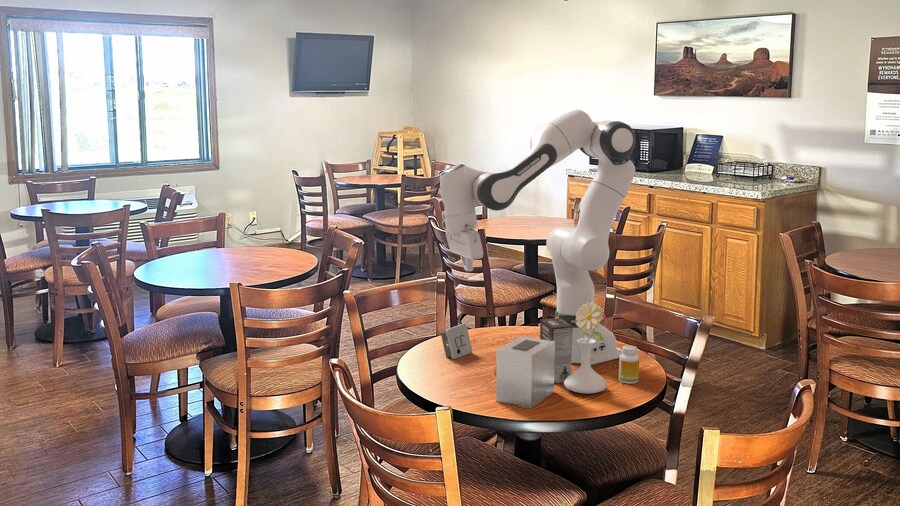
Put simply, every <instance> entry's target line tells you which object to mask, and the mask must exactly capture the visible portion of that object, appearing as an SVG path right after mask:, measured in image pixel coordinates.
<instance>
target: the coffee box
mask: <svg viewBox="0 0 900 506" xmlns="http://www.w3.org/2000/svg"><path fill="white" fill-rule="evenodd" d="M539 327H540V328H539V329H540V330H539V331H540V332H539V339H542V340H548V341H555V362H554V384H557V383H564V381H565V379H566V378H567V377H568V376H569V375H571V374H572V363H571V362H572V331H573V326H572V325H570V324H569V323H567V322H566V321H564V320H563V319H562V318H555V317H554V318H553V317H552V318H543V319H540V325H539Z"/></svg>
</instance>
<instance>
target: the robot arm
mask: <svg viewBox="0 0 900 506" xmlns="http://www.w3.org/2000/svg"><path fill="white" fill-rule="evenodd" d="M635 145H636V134H635V130H634V129H633V128H632V127H631V126H630V125H629V124H628V123H625V122H623V121H617V120H616V121H615V120H601V121H593V119H592V118H591V116H590V115H589V114H588V113H586V112H585V111H583V110H582V109H573V110H571V111H568V112H566V113H564V114H562V115H560V116H558V117H556V118H554V119H553V120H551V121H550V122H548V123H547V124H545V125H544V126H543V127H541V128H540V129H539V130H538V131H537V132H536V133H535V134H533V135H532V137H531V138H530V142H529V149H530V150H529V153H528V154H527V155H526V156H524V157H523V158H521V160H519V161H518V162H517V163H516V164H514V165H513V166H511V167H510V168H509V169H508V170H505V171H501V172H496V173H494V172H488V171H484V170H483V171H482V170H478V169H474V168H472V167H469V166H467V165H466V164H461V163H460V164H456V165H453V166H450V167H448V168H446V169H444V170H443V171H442V172H441V174H440V177H439V186H440V187H439V189H440V196H441V202H442V203H443V207H444V212H443V213H444V220H442V222H441V223H442V228H443V229H444V230H445V237H446V241H447V246H448V248H449V251H450V252H451V253H454V254H456V255H458V256H460V260H461V262H462V264H463V270H465V272H473V271H474V265H473V263H474V260H479V259H482V258H483V257H484V250H483V243H482V241H481V240H482V239H481V236H480V233H479V232H478V231H477V230H475V229H476V228H478V219H477V213H476V207H479V206H481V207H485V208H487V209H489V210H491V211H502V210H505V209H507V208H509V206H511V205H512V204H513V202H514V201H515V199H516V198H517V196H518V194H519V193H520V192H521V190H523V189H524V188H525V187H526V186H527V185H529V184H530V183H531V182H532V181H533V180H535V179H536V178H538V177H539V176H541V174H543V173H544V172H545V171H547V170H548V169H549V168H551V167H553V166H555V165H556V164H558V163H560V162H562V161H563V160H564V159H566V158H568V157H569V156H570V155H572V154H573V153H575V152H576V151H577V150H580V151H581V152H582V153H583V154H584V155H586V156H587V157H590V158H594V159H598V164H597V165H598V167H597V170H596V173H595V175H594V176H593V177H592V180H591V181H590V183H589V185H588V187H587V188H586V191H585V193H584V195H583V197H582V198H581V199H580V201H579V203H578V204H579V205H578V209H579V215H578V222H577V225H576V227H573V226H569V225H568V226H559V227H555V228H554V229H552V230H551V231H550V233H549V234H548V235H547V238H546V243H545V244H546V245H545V246H546V249H547V251H548V252H549V255H550V257H551V262H552V266H553V271H554V276H555V282H556V310H554V318H562V319H563V320H564V321H566V322H567V323H569V324H570V325H572V326H573V331H572V362H571V364H580V365H581V363H582V353H581V348H580V345H579V343H578V342H577V340H578V339H580V338H589V336H591V334H592V332H593V330H591V329H589V330H588V331H586V332H587V333H588V334H589V336H587V335H585V334H584V333H582V332H581V331H580V329H579V326H577V325H576V322H577V321H576V318H577V317H576V315H577V314H576V313H577V312H579V308H582V305H583V304H585V305H586V304H587V303H590V304H591V303H593V302H594V303H595V284H594V282H593V280H592V278H591V276H590V273H589V271H596V270H600V269H602V268H603V267H604V266H606V264H607V262H608V260H609V258H610V246H609V237H610V232H611V228H612V225H613V223H614V220H615V218H616V216H617V213H618V212H619V210H620V208H621V206H622V204H623V202H624V200H625V199H626V197H627V194H628V192H629V190H630V188H631V187H632V183H633V181H634V177H635V174H636V166H635V164H634V162H633V161H632V160H631V159H632V158H633V156H634V149H635V148H636V147H635ZM602 313H603V312H602ZM602 317H603V319H602V320H601V321H604V320H605V319H606V317H607V316H606V314H605V313H603V315H602ZM596 331H600V333H601V335H602V338H603V340H601V341H596V342H595V344H594V345H593V347H592V350H591V355H590V366H593V365H597V364H600V363H604V362H605V363H606V362H608V361H612V360H616V359H619V358H620V355H621V354H622V353H623V352H622V348H620V347H618V345H617V338H616V336H615V335H614V333H613V332H612V331H610V330H609V329H608V328H606V327H605V326H604V325H602V323H600V324H597V327H596V328H595V331H594V332H596ZM590 339H594V337H593V335H592V337H591V338H590Z"/></svg>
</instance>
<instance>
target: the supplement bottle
mask: <svg viewBox="0 0 900 506" xmlns="http://www.w3.org/2000/svg"><path fill="white" fill-rule="evenodd" d="M621 350H622V352H623V353H622V354H621V355H620V358H618V359H619V360H618V361H619V363H618V365H619V366H618V368H619V369H618V381H619V382H621V383H623V384H626V385H627V384H628V385H631V384H632V385H633V384H637V383H638V382H639V377H640V375H639V374H640V356H639V354H637V353H638V347H637V346H636V345H635V346H634V345H630V344H628V345H623V346H622V348H621Z"/></svg>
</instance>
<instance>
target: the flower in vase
mask: <svg viewBox="0 0 900 506" xmlns="http://www.w3.org/2000/svg"><path fill="white" fill-rule="evenodd" d="M576 314H577V315H576V317H577V318H576V321H577V322H576V325H577V326H579V329H580V331H581V332H582V333H584V334H585V335H587V336H589V334H588V333H587V332H586V331H588V330H589V329H591V330H593V332H592V334H591V336H589V338H580V339H578V340H577V342H578V343H579V345H580V348H581V353H582V363H581V364H580V366H579V368H577V369H576V370H575V371H573V372H571V375H569V376H568V377H567V378H566V379H565V381H564V382H563V385H564V387H565V388H566V389H568V390H570V391H572V392H574V393H578V394H587V395H588V394H589V395H591V394H596V393H599V392H602V391H604V390H605V389H606V388H607V385H608V384H607V382H606V380H605V379H604V377H602V376H601V375H600V374H599V373H597V372H596V371H595V370H594V369H593V368H592V365H590V355H591V350H592V347H593V345H594V344H595V342H596V341H601V340H603V338H602V335H601V333H600V331H596V332H594V331H595V328H596V327H597V324H601V321H603V320H602V319H603V317H602V315H603V308H601V306H600V305H598V304H597V303H595V301H594V302H593V303H591V304H590V303H587V304H586V305H585V304H583V305H582V308H579V312H577V313H576ZM592 335H593V337H594V339H590V338H591V337H592Z"/></svg>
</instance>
